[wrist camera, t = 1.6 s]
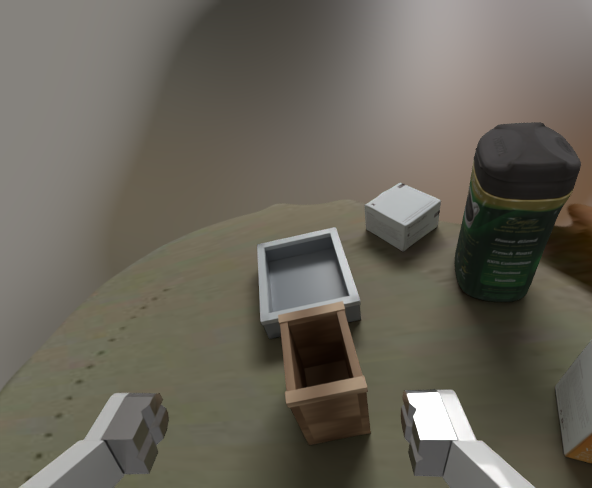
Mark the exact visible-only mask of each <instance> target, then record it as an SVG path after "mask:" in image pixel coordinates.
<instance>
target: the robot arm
mask: <svg viewBox="0 0 592 488" xmlns="http://www.w3.org/2000/svg"><path fill="white" fill-rule="evenodd" d="M162 401H163V399H162V397H161V395H160V393H115V394H113V395H112V396H111V397H110V398H109V400H108V402H107V403H106V405H105V406H104V408H103V410H102V411H101V413H100V415H99V416H98V418H97V419H96V421H95V423H94V424H93V426H92V428H91V429H90V431H89V432H88V434H87V436H86V437H85V439H84V440H80V441H78V442H77V443H75V444H74V445H73V446H72V447H70V448H69V449H68V450H67V451H65V452H64V453H63V454H61V455H60V456H59V457H58V458H56V459H55V460H54V461H52V462H51V463H50V464H49V465H47V466H46V467H45V468H44V469H42V470H41V471H40V472H38V473H37V474H36V475H35V476H33V477H32V478H31V479H29V480H28V481H27V482H26V483H24V484H23V485H22V486H21V487H19V488H113V487H114V486H115V485H116V484H117V483H118V482H119V481H120V480H121V479H122V478H123V476H124V475H123V474H150V471H151V469H152V466H153V464H154V461H155V459H156V456H157V454H158V449H157V444H158V443H159V442H160V441H161V440H162V439H164V436H165V434H166V431H167V427H168V421H169V417H168V412H167V409H166V408H165V407H164V406H162V405H161V403H162ZM403 401H404V405H403V406H402V407H401V423H402V429H403V433H404V438H405V439H406V440H407V441H408V442H409V443H410V444H409V451H408V454H409V457H410V461H411V465H412V469H413V473H414V476H440V477H443V479H444V480H445V481H446V483H447V484H448V485H449V486H450V488H535V487H534V486H533V485H532V484H530V483H529V482H528V481H527V480H526V479H525V478H524V477H522V476H521V475H520V474H519V473H518V472H517V471H516V470H515V469H513V468H512V467H511V466H510V465H509V464H508V463H507V462H506V461H504V460H503V459H502V458H501V457H500V456H499V455H498V454H497V453H495V452H494V451H493V450H492V449H491V448H490V447H489V446H487V445H486V444H485V443H484V442H483V441H479V440H476V437H475V435H474V433H473V431H472V429H471V426H470V424H469V422H468V420H467V417H466V415H465V413H464V411H463V409H462V406H461V404H460V402H459V400H458V397H457V395H456V393H455V392H454V391H453V390H435V389H434V390H404V392H403Z"/></svg>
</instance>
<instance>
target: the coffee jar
mask: <svg viewBox="0 0 592 488" xmlns="http://www.w3.org/2000/svg"><path fill="white" fill-rule="evenodd" d="M580 166H581V162H580V160H579V158H578V156H577V154H576V153H575V151H574V150H573V148H572V147H571V146H570V144H569V143H568V142H567V141H566V139H565V138H564V137H563V136H561V135H560V134H558V133H557V132H555V131H554V130H552V129H550V128H548V127H546V126H545V125H544V124H543V123H515V124H501V125H497V126H496V127H495V128H494V129H492V130H490V131H489V132H487V133H486V134H485V135H484V136H482V138H481V139H480V141H479V143H478V146H477V148H476V153H475V156H474V162H473V168H472V174H471V181H470V186H469V192H468V197H467V202H466V206H465V211H464V216H463V221H462V225H461V230H460V234H459V239H458V243H457V248H456V253H455V271H456V276H457V280H458V283H459V286H460V287H461V289H462V290H463V291H464V292H465V293H467V294H468V295H470V296H472V297H474V298H478V299H481V300H485V301H492V302H510V301H516V300H519V299H521V298H523V297H524V296H525V295H526V294H527V292H528V289H529V287H530V285H531V282H532V280H533V277H534V275H535V272H536V269H537V266H538V264H539V261H540V258H541V256H542V253H543V251H544V248H545V246H546V244H547V241H548V239H549V236H550V234H551V231H552V229H553V227H554V224H555V221H556V219H557V217H558V214H559V213H560V211H561V209H562V207H563V205H564V204H565V202H566V201H567V200H568V198H569V197H570V195H571V193H572V191H573V188H574V185H575V182H576V179H577V176H578V173H579V171H580Z"/></svg>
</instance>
